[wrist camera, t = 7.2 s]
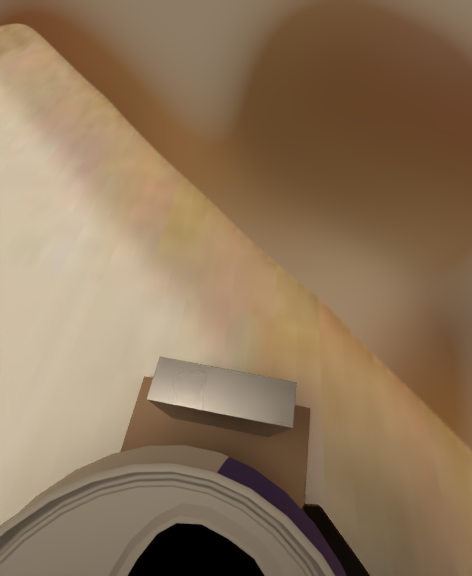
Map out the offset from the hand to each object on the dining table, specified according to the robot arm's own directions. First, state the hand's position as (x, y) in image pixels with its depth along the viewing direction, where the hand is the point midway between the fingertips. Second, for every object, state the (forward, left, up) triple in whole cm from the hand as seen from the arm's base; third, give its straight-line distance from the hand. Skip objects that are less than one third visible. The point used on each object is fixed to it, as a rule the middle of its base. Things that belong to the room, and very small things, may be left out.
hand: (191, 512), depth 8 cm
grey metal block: (+3, 0, -9) cm, 9 cm away
